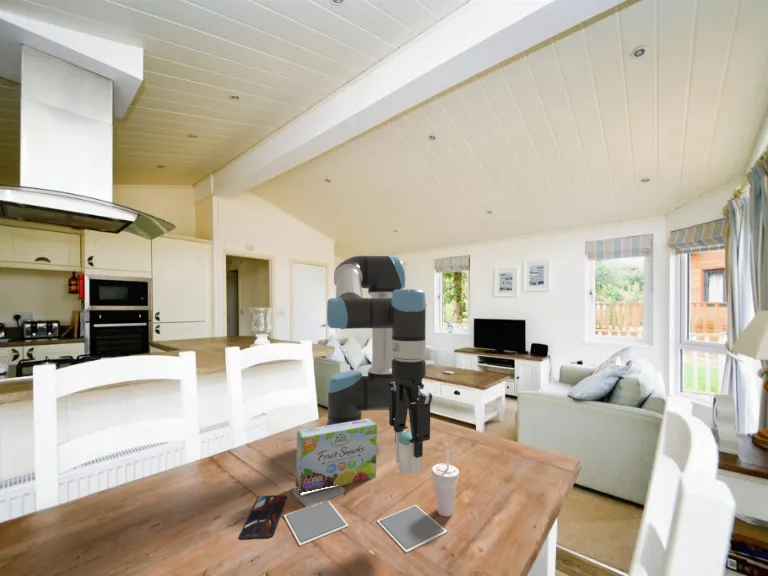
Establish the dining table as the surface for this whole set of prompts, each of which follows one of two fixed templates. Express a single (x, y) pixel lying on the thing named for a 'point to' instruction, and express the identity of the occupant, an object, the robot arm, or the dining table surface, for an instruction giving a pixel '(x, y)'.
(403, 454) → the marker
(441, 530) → the mat drink
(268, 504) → the smartphone
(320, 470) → the snack box
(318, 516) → the plate
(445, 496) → the smoothie
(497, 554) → the dining table surface
